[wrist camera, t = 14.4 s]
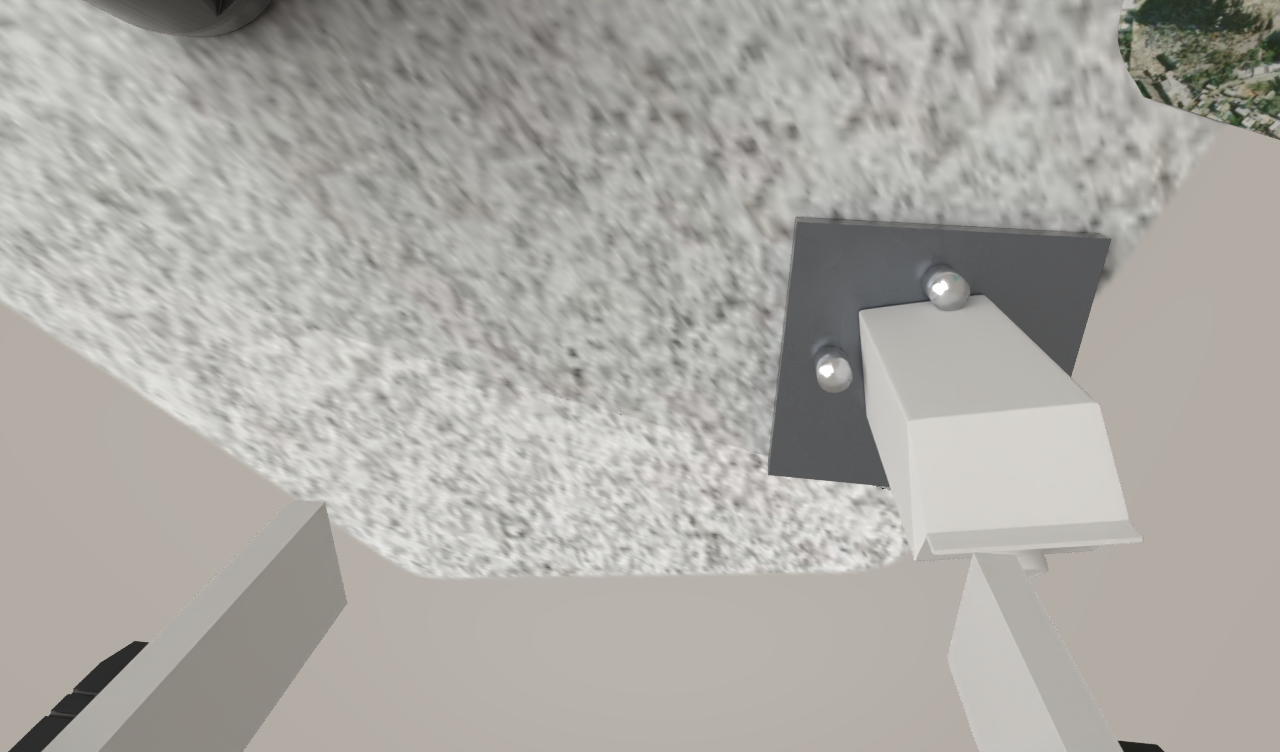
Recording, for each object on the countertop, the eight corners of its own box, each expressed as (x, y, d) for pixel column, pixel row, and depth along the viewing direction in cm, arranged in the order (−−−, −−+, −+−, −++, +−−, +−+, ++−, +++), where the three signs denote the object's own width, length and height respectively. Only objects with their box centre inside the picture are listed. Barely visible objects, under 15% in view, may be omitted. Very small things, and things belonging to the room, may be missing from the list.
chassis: (767, 463, 49) (769, 494, 46) (795, 216, 43) (799, 230, 39) (1026, 488, 47) (1049, 523, 44) (1098, 233, 40) (1133, 249, 37)
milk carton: (857, 309, 43) (929, 470, 25) (984, 292, 41) (1152, 452, 24) (865, 415, 45) (935, 627, 28) (985, 403, 44) (1137, 619, 26)
